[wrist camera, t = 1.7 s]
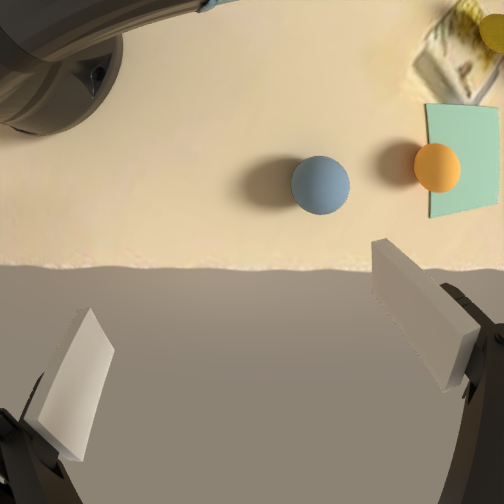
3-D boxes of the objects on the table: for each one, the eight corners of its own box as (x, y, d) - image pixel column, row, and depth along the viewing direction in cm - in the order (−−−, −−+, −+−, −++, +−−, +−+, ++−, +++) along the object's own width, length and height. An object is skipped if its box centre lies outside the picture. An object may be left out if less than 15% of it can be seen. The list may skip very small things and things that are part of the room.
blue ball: (278, 163, 29) (290, 172, 24) (328, 145, 29) (350, 152, 24) (295, 212, 32) (309, 231, 27) (342, 195, 31) (365, 210, 26)
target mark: (429, 217, 34) (430, 218, 33) (425, 103, 28) (426, 103, 27) (496, 203, 34) (497, 203, 34) (496, 107, 28) (497, 108, 28)
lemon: (485, 61, 25) (528, 61, 18) (462, 28, 23) (505, 21, 16) (497, 43, 24) (538, 42, 16) (476, 11, 22) (516, 4, 14)
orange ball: (400, 146, 30) (429, 153, 25) (435, 135, 29) (466, 142, 24) (409, 191, 32) (437, 205, 27) (443, 178, 32) (471, 190, 27)
